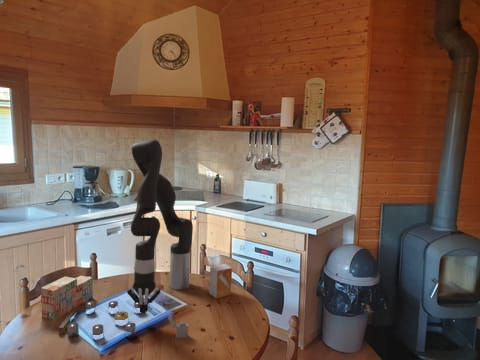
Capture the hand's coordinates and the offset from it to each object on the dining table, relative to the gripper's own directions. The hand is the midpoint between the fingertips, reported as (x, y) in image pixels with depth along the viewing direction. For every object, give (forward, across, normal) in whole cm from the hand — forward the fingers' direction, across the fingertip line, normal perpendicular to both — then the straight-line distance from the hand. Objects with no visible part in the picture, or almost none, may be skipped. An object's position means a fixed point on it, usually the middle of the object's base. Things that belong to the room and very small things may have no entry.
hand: (143, 312), depth 142 cm
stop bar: (+4, +28, 0) cm, 28 cm away
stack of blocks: (+5, +32, -13) cm, 35 cm away
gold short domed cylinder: (+4, +8, 0) cm, 9 cm away
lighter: (+4, -14, +10) cm, 17 cm away
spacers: (+4, +13, +1) cm, 14 cm away
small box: (+4, -30, -26) cm, 40 cm away
